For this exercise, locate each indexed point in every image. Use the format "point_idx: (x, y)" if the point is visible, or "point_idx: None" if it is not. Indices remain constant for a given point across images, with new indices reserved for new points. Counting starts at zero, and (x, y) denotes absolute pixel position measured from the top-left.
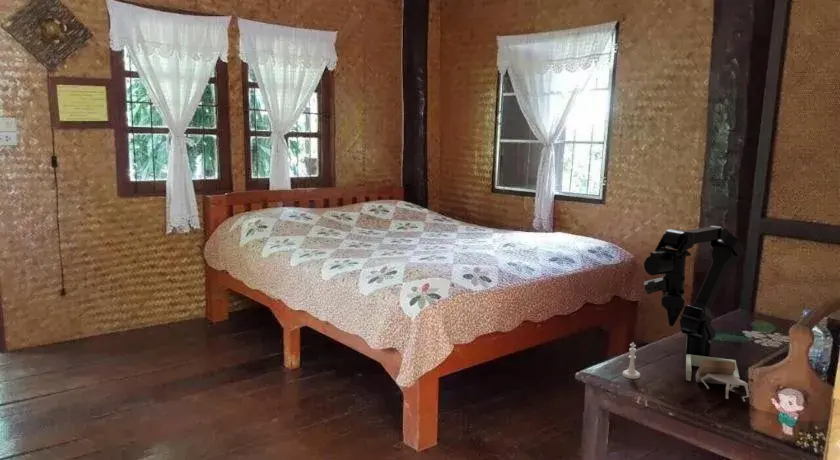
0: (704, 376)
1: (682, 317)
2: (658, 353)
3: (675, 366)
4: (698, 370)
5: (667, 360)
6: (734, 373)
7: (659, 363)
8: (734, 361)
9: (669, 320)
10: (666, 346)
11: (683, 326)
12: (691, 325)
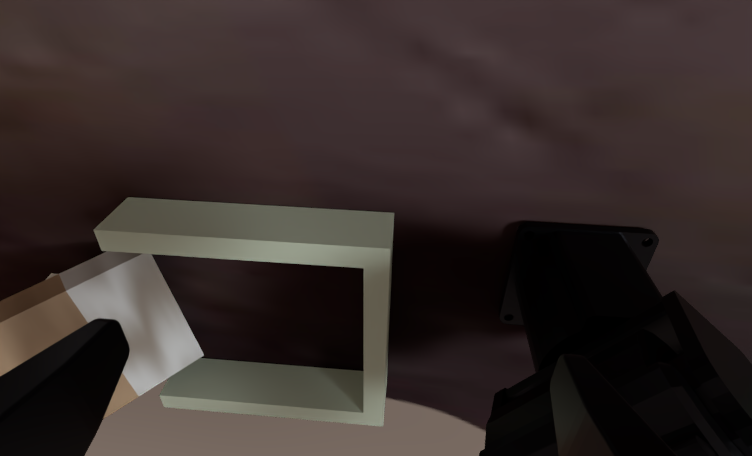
0: None
1: (678, 437)
2: (555, 47)
3: (318, 154)
4: (55, 291)
5: (413, 110)
6: (198, 399)
7: (330, 53)
8: (361, 421)
9: (3, 385)
10: (736, 112)
11: (606, 360)
12: (533, 433)
